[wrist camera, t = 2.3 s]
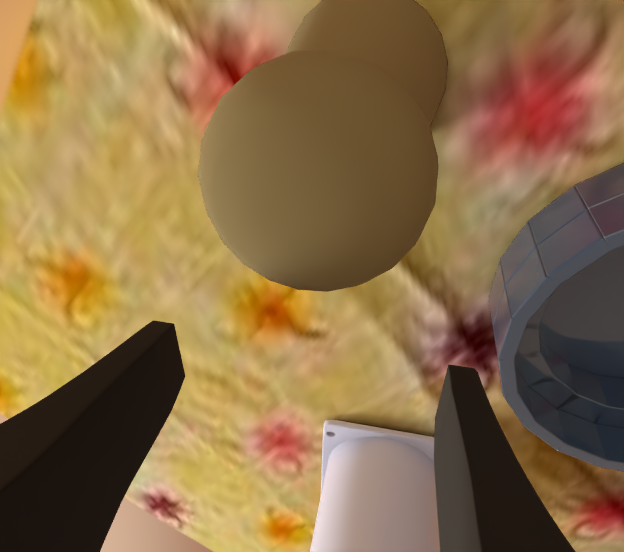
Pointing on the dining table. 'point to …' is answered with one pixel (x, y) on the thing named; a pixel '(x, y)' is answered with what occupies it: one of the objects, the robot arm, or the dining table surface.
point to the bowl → (567, 322)
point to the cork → (330, 147)
